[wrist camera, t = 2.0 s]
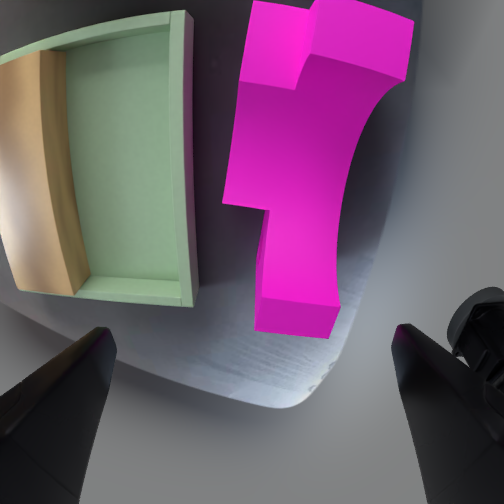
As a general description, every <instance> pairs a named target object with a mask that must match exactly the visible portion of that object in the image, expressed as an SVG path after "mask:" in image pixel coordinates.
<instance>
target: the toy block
mask: <svg viewBox="0 0 504 504" xmlns="http://www.w3.org/2000/svg"><path fill="white" fill-rule="evenodd" d="M413 26H414V21H412V20H409V19H407V18H404V17H402V16H399V15H397V14H394V13H391V12H389V11H386V10H383V9H380V8H377V7H374V6H371V5H368V4H365V3H362V2H359V1H356V0H315V1H314V3H313V5H312V6H311V8H310V10H307V9H302V8H297V7H292V6H287V5H281V4H275V3H269V2H262V1H253V6H252V11H251V16H250V22H249V27H248V32H247V38H246V43H245V49H244V55H243V61H242V66H241V72H240V78H239V87H238V96H237V105H236V113H235V121H234V129H233V136H232V143H231V150H230V157H229V163H228V170H227V177H226V183H225V189H224V195H223V202H222V203H225V204H231V205H238V206H244V207H251V208H257V209H264V210H265V213H264V218H263V224H262V229H261V234H260V240H259V245H258V250H257V256H256V289H255V325H254V331H262V332H270V333H278V334H286V335H295V336H305V337H315V338H325V339H328V338H329V336H330V333H331V331H332V328H333V326H334V323H335V321H336V318H337V316H338V313H339V310H340V308H341V306H340V301H339V295H338V287H337V270H336V258H337V238H338V227H339V218H340V211H341V205H342V199H343V194H344V189H345V184H346V180H347V176H348V172H349V168H350V164H351V161H352V157H353V154H354V151H355V148H356V145H357V142H358V140H359V137H360V135H361V132H362V130H363V128H364V125H365V123H366V121H367V119H368V117H369V116H370V114H371V112H372V110H373V109H374V107H375V106H376V104H377V103H378V101H379V100H380V99H381V98H382V96H383V95H384V94H385V93H386V92H387V91H388V90H389V89H391V88H392V87H393V86H395V85H397V84H398V83H401V82H403V81H405V77H406V72H407V66H408V60H409V54H410V47H411V41H412V34H413Z"/></svg>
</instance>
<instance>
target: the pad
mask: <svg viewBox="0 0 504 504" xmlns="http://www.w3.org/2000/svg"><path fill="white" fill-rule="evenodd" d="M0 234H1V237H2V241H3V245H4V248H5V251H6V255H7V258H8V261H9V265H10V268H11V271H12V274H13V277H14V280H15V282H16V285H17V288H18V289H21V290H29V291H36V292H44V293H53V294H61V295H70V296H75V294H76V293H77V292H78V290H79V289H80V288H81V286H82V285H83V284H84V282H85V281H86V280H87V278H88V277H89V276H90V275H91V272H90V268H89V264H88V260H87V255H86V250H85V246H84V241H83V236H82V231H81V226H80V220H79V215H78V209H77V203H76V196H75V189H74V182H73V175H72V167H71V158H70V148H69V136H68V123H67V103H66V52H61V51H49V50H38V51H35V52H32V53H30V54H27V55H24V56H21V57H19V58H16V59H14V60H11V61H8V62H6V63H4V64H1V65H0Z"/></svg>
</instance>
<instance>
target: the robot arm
mask: <svg viewBox="0 0 504 504" xmlns="http://www.w3.org/2000/svg"><path fill="white" fill-rule="evenodd" d="M391 350H392V356H393V361H394V366H395V370H396V376H397V382H398V387H399V392H400V395H401V399H402V402H403V406H404V409H405V413H406V416H407V420H408V424H409V427H410V431H411V435H412V438H413V442H414V446H415V450H416V454H417V458H418V462H419V467H420V471H421V475H422V480H423V484H424V489H425V494H426V498H427V503H428V504H504V302H491V303H477V304H475V305H474V306H473V308H472V310H471V312H470V314H469V317H468V319H467V321H466V323H465V325H464V328H463V330H462V332H461V334H460V336H459V338H458V340H457V342H456V344H455V346H454V348H453V350H452V354H451V353H450V352H448V351H447V350H445V349H444V348H443V347H441V346H440V345H439V344H438V343H436V342H435V341H433V340H432V339H431V338H429V337H428V336H426V335H425V334H424V333H422V332H421V331H420V330H418V329H417V328H416V327H414V326H413V325H411V324H400V325H398V326H397V328H396V331H395V335H394V338H393V341H392V345H391ZM116 353H117V348H116V344H115V342H114V339H113V336H112V334H111V331H110V329H109V328H107V327H96V328H95V329H93V330H92V331H90V332H89V333H87V334H86V335H85V336H83V337H82V338H80V339H79V340H78V341H76V342H75V343H73V344H72V345H71V346H69V347H68V348H66V349H65V350H64V351H62V352H61V353H59V354H58V355H57V356H55V357H54V358H52V359H51V360H50V361H48V362H47V363H46V364H44V365H43V366H41V367H40V368H39V369H37V370H36V371H35V372H33V373H32V374H30V375H29V376H28V377H26V378H25V379H24V380H22V382H20V383H18V384H17V385H16V386H14V387H13V388H11V389H10V390H9V391H7V392H6V393H4V394H3V395H2V396H0V504H79V501H80V500H79V499H80V495H81V491H82V486H83V482H84V478H85V474H86V470H87V466H88V462H89V458H90V454H91V450H92V447H93V443H94V439H95V436H96V432H97V429H98V425H99V422H100V418H101V415H102V412H103V408H104V405H105V402H106V399H107V395H108V391H109V387H110V382H111V377H112V372H113V367H114V362H115V358H116ZM458 356H463V357H464V358H465V360H466V362H467V364H468V365H469V367H470V368H469V367H468V366H467V365H465V364H464V363H463V362H462V361H460V360H459V359H457V358H456V357H458Z"/></svg>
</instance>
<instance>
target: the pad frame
mask: <svg viewBox="0 0 504 504" xmlns="http://www.w3.org/2000/svg"><path fill="white" fill-rule="evenodd" d="M193 33H194V19H193V18H192V17H191V16H190V15H189V13H188V12H187V11H186V10H178V11H171V12H170V11H168V12H160V13H153V14H146V15H140V16H134V17H128V18H123V19H118V20H113V21H108V22H104V23H99V24H95V25H91V26H87V27H83V28H80V29H76V30H72V31H69V32H65V33H62V34H59V35H56V36H53V37H49V38H46V39H43V40H41V41H38V42H35V43H32V44H29V45H27V46H24V47H22V48H19V49H16V50H14V51H11V52H9V53H7V54H4V55H2V56H0V65H1V64H4V63H6V62H8V61H11V60H14V59H16V58H19V57H21V56H24V55H27V54H30V53H32V52H35V51H38V50H49V51H61V52H66V103H67V123H68V136H69V148H70V158H71V167H72V175H73V182H74V189H75V196H76V203H77V209H78V215H79V220H80V226H81V231H82V236H83V241H84V246H85V250H86V255H87V260H88V264H89V268H90V272H91V275H90V276H89V277H88V278H87V280H86V281H85V282H84V284H83V285H82V286H81V288H80V289H79V290H78V292H77V293H76V294H75V296H70V295H61V294H53V293H44V292H36V291H29V290H21V289H20V290H21V291H27V292H34V293H42V294H50V295H58V296H67V297H76V298H85V299H95V300H105V301H116V302H127V303H139V304H152V305H166V306H183V307H194V304H195V301H196V297H197V294H198V290H199V277H198V262H197V245H196V227H195V205H194V177H193V128H192V79H193Z"/></svg>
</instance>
